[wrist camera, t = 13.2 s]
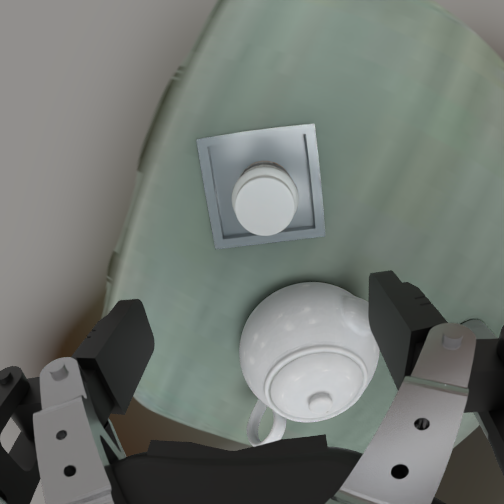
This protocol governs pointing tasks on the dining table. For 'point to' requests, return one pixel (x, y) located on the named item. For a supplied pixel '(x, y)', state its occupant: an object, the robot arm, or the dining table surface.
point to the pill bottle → (265, 198)
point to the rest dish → (255, 150)
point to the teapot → (306, 355)
